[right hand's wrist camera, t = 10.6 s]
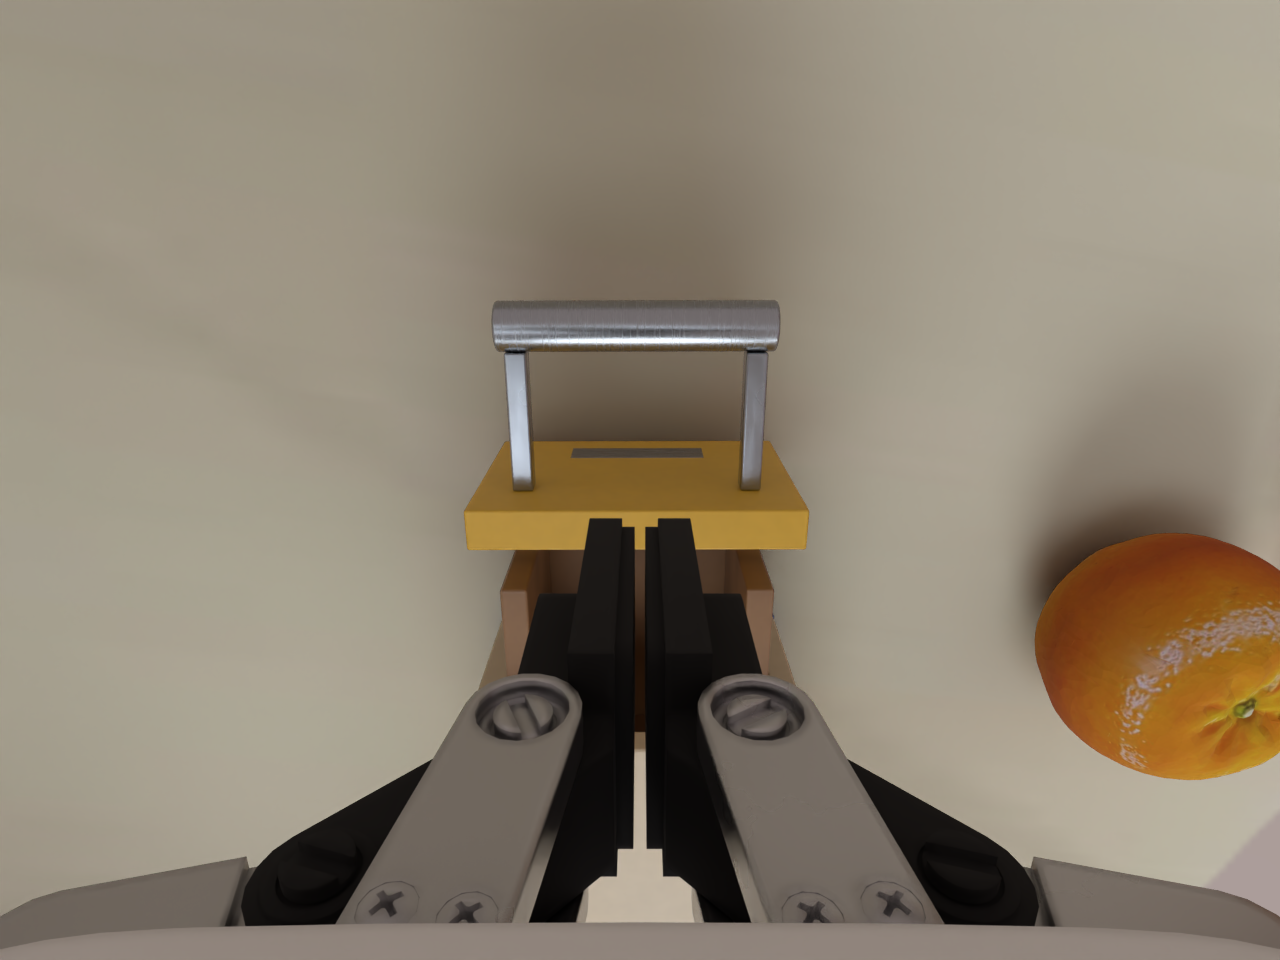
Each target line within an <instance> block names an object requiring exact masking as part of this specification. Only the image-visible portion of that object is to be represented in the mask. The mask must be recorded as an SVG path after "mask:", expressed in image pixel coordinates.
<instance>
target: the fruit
mask: <svg viewBox="0 0 1280 960" xmlns="http://www.w3.org/2000/svg"><path fill="white" fill-rule="evenodd" d="M1035 654H1036V658H1037V664H1038V667H1039V670H1040V673H1041V676H1042V679H1043V682H1044V684H1045V687H1046V690H1047V692H1048V695H1049V698H1050V700H1051V703H1052V705H1053V707H1054V709H1055V711H1056V712H1057V713H1058V715H1059V716H1060V718H1061V719H1062V720H1063V722H1064V723H1065V724H1066V725H1067V727H1068V728H1069V729H1070V730H1072V731H1073V732H1074V733H1075V734H1076V735H1077V736H1078V737H1079V738H1080V739H1081V740H1082V741H1084V742H1085V743H1086V744H1087V745H1089V746H1090V747H1091V748H1093V749H1094V750H1096V751H1097V752H1099V753H1100V754H1102V755H1104V756H1106V757H1108V758H1110V759H1112V760H1114V761H1116V762H1118V763H1119V764H1121V765H1123V766H1126V767H1128V768H1131V769H1134V770H1136V771H1139V772H1142V773H1145V774H1149V775H1154V776H1158V777H1162V778H1172V779H1182V780H1202V779H1208V778H1214V777H1220V776H1224V775H1228V774H1232V773H1236V772H1240V771H1243V770H1246V769H1249V768H1252V767H1255V766H1258V765H1261V764H1263V763H1264V762H1266V761H1268V760H1269V759H1271V758H1273V757H1274V756H1275V755H1277V754H1278V753H1279V752H1280V571H1279V570H1278V569H1277V568H1275V567H1274V566H1273V565H1271V564H1270V563H1268V562H1266V561H1265V560H1263V559H1261V558H1260V557H1258V556H1256V555H1254V554H1252V553H1250V552H1248V551H1246V550H1244V549H1242V548H1239V547H1237V546H1234V545H1232V544H1229V543H1226V542H1223V541H1220V540H1217V539H1214V538H1210V537H1206V536H1199V535H1193V534H1187V533H1185V534H1180V533H1160V534H1152V535H1147V536H1142V537H1138V538H1134V539H1131V540H1128V541H1125V542H1122V543H1117V544H1114V545H1111V546H1108V547H1105V548H1103V549H1101V550H1098V551H1096V552H1095V553H1094V554H1092V555H1090V556H1089V557H1088V558H1086V559H1085V560H1084V561H1082V562H1081V563H1080V564H1079V565H1078V566H1077V567H1076V568H1074V569H1073V570H1072V571H1071V572H1070V573H1068V574H1067V575H1066V576H1065V577H1064V579H1063V580H1062V581H1061V582H1060V583H1059V584H1058V585H1057V586H1056V588H1055V589H1054V590H1053V592H1052V593H1051V595H1050V596H1049V598H1048V600H1047V602H1046V604H1045V606H1044V608H1043V610H1042V612H1041V615H1040V618H1039V620H1038V623H1037V627H1036V633H1035Z"/></svg>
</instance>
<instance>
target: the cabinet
mask: <svg viewBox="0 0 1280 960" xmlns="http://www.w3.org/2000/svg"><path fill="white" fill-rule="evenodd" d="M768 676H772V677H777V678H779V679H782V680H784V681H787V682H789V683H792V684H793V685H795V682H794V679H793V676H792V673H791V670H790V667H789V664H788V661H787V658H786V655H785V652H784V649H783V646H782V643H781V640H780V637H779V633H778V630H777V627H776V624H775V621H774V615H773V614H772V629H771V643H770V657H769V672H768ZM503 677H507V675H506V662H505V649H504V637H503V624H502V621H501V624H500V627H499V630H498V633H497V636H496V639H495V642H494V645H493V648H492V651H491V654H490V657H489V660H488V663H487V666H486V668H485V671H484V674H483V677H482V680H481V683H480V686H479V689H481V688H482V687H484V686H485V685H487V684H488V683H491V682H493V681H496V680H498V679H501V678H503ZM795 686H796V685H795ZM479 689H478V690H479ZM588 893H589V900H588V913H587V918H586V922H585V923H605V922H675V923H695V922H694V918H693V913H692V900H691V893H692V887H691V886H690V885H689V884H688V883H686V882H685V881H684V880H683V879H681V878H680V877H663V863H662V849H647V846H646V750H645V732H635V750H634V846H633V849H618V863H617V877H600V878H599V879H597V880H596V881H595V882H594V883H592V884H591V885H590V886H589V887H588Z"/></svg>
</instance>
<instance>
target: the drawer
mask: <svg viewBox="0 0 1280 960" xmlns="http://www.w3.org/2000/svg"><path fill="white" fill-rule="evenodd" d="M492 336H493V342H494V345H495V348H496V350H497V351H499V352H506V353H505V354H504V365H505V380H506V395H507V410H508V424H509V439H510V441H506V442H505V443H504V445H503V446H502V448H501V450H500V451H499V453H498V455H497V456H496V458H495V460H494V461H493V463H492V465H491V467H490V468H489V470H488V472H487V473H486V475H485V477H484V478H483V480H482V482H481V484H480V485H479V487H478V489H477V490H476V492H475V494H474V495H473V497H472V499H471V500H470V502H469V504H468V506H467V507H466V509H465V511H464V519H465V529H466V540H467V548H468V550H515V552H514V555H513V558H512V561H511V563H510V566H509V569H508V571H507V574H506V577H505V579H504V582H503V585H502V588H501V590H500V598H501V611H502V624H503V637H504V649H505V662H506V675H507V677H508V676H513V675H518V671H519V667H520V663H521V660H522V656H523V652H524V648H525V644H526V641H527V637H528V633H529V629H530V626H531V622H532V618H533V614H534V610H535V607H536V603H537V599H538V596H539V594H541V593H577V591H578V585H579V579H580V573H581V567H582V561H583V555H584V549H585V543H586V537H587V531H588V524H589V519H590V518H622V527H635V732H645V527H658V518H690V519H691V524H692V531H693V537H694V543H695V549H696V555H697V561H698V567H699V573H700V579H701V585H702V591H703V593H739V594H741V596H742V599H743V603H744V607H745V610H746V614H747V618H748V622H749V626H750V629H751V633H752V637H753V641H754V644H755V648H756V652H757V656H758V660H759V663H760V667H761V671H762V675H767V676H768V672H769V657H770V643H771V629H772V614H773V600H774V589H773V586H772V583H771V580H770V578H769V575H768V572H767V569H766V566H765V564H764V561H763V558H762V555H761V552H760V549H805V548H806V543H807V532H808V520H809V510H808V508H807V506H806V504H805V503H804V501H803V499H802V497H801V496H800V494H799V492H798V490H797V489H796V487H795V485H794V483H793V482H792V480H791V478H790V476H789V475H788V473H787V471H786V469H785V468H784V466H783V464H782V462H781V460H780V459H779V457H778V455H777V453H776V452H775V450H774V448H773V446H772V445H771V443H770V441H763V438H764V421H765V404H766V387H767V370H768V353H767V352H766V351H775V350H776V348H777V346H778V342H779V336H780V309H779V304H778V302H777V301H776V300H590V301H496V302H495V303H494V305H493V309H492ZM667 351H744V365H743V387H742V408H741V429H740V441H533V425H532V407H531V389H530V371H529V353H528V352H667Z"/></svg>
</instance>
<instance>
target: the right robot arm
mask: <svg viewBox="0 0 1280 960" xmlns="http://www.w3.org/2000/svg"><path fill="white" fill-rule="evenodd" d="M634 750H635V527H622V518H590V519H589V524H588V531H587V537H586V543H585V549H584V555H583V561H582V567H581V573H580V579H579V585H578V591H577V593H541V594H539V596H538V599H537V603H536V607H535V610H534V614H533V618H532V622H531V626H530V629H529V633H528V637H527V641H526V644H525V648H524V652H523V656H522V660H521V663H520V667H519V671H518V675H513V676H508V677H503V678H501V679H498V680H496V681H493V682H491V683H488V684H487V685H485V686H484V687H482V688H481V689H479V690H478V691H476V692H475V693H474V694H473V695H472V697H471V698H470V699H469V700H468V701H467V703H466V704H465V706H464V707H463V709H462V711H461V712H460V714H459V716H458V717H457V719H456V721H455V723H454V724H453V726H452V728H451V729H450V731H449V733H448V734H447V736H446V738H445V739H444V741H443V743H442V745H441V746H440V748H439V750H438V751H437V753H436V755H435V756H434V758H433V759H432V760H430V761H428V762H426V763H425V764H423V765H421V766H419V767H417V768H416V769H414V770H412V771H410V772H409V773H407V774H405V775H403V776H401V777H400V778H398V779H396V780H394V781H392V782H391V783H389V784H387V785H385V786H383V787H382V788H380V789H378V790H376V791H374V792H373V793H371V794H369V795H367V796H365V797H364V798H362V799H360V800H358V801H356V802H355V803H353V804H351V805H349V806H348V807H346V808H344V809H342V810H340V811H339V812H337V813H335V814H333V815H331V816H330V817H328V818H326V819H324V820H322V821H321V822H319V823H317V824H315V825H313V826H312V827H310V828H308V829H306V830H304V831H303V832H301V833H299V834H297V835H296V836H294V837H292V838H291V839H289V840H288V841H286V842H285V843H283V844H282V845H281V846H279V847H278V848H276V849H275V850H273V851H272V852H271V853H270V854H269V855H268V856H267V857H266V858H265V859H264V860H263V861H262V863H261V864H260V865H259V866H258V867H254V868H249V866H248V862H247V858H246V857H242V858H236V859H231V860H225V861H220V862H215V863H209V864H204V865H198V866H193V867H187V868H182V869H177V870H171V871H166V872H160V873H155V874H149V875H144V876H138V877H133V878H128V879H122V880H117V881H111V882H106V883H100V884H95V885H89V886H84V887H79V888H73V889H68V890H62V891H58V892H55V893H52V894H49V895H45V896H42V897H39V898H35V899H32V900H30V901H29V902H27V903H25V904H23V905H21V906H19V907H17V908H15V909H13V910H11V911H9V912H8V913H6V914H4V915H2V916H1V917H0V960H1280V917H1279V916H1278V915H1276V914H1274V913H1272V912H1271V911H1269V910H1267V909H1265V908H1263V907H1261V906H1259V905H1257V904H1255V903H1253V902H1251V901H1250V900H1248V899H1244V898H1241V897H1238V896H1235V895H1231V894H1228V893H1225V892H1222V891H1218V890H1212V889H1207V888H1201V887H1196V886H1191V885H1185V884H1180V883H1174V882H1169V881H1163V880H1158V879H1152V878H1147V877H1142V876H1136V875H1131V874H1125V873H1120V872H1114V871H1109V870H1103V869H1098V868H1093V867H1087V866H1082V865H1076V864H1071V863H1065V862H1060V861H1055V860H1049V859H1044V858H1038V857H1034V858H1033V862H1032V866H1031V868H1026V867H1022V866H1021V865H1020V864H1019V863H1018V861H1017V860H1016V859H1015V858H1014V857H1013V856H1012V855H1011V854H1010V853H1009V852H1008V851H1007V850H1005V849H1004V848H1002V847H1001V846H999V845H998V844H997V843H995V842H994V841H992V840H991V839H989V838H988V837H986V836H984V835H983V834H981V833H979V832H977V831H976V830H974V829H972V828H970V827H968V826H967V825H965V824H963V823H961V822H959V821H958V820H956V819H954V818H952V817H950V816H949V815H947V814H945V813H943V812H941V811H940V810H938V809H936V808H934V807H932V806H931V805H929V804H927V803H925V802H924V801H922V800H920V799H918V798H916V797H915V796H913V795H911V794H909V793H907V792H906V791H904V790H902V789H900V788H898V787H897V786H895V785H893V784H891V783H889V782H888V781H886V780H884V779H882V778H880V777H879V776H877V775H875V774H873V773H871V772H870V771H868V770H866V769H864V768H863V767H861V766H859V765H857V764H855V763H854V762H852V761H850V760H848V759H847V758H846V756H845V755H844V753H843V751H842V750H841V748H840V746H839V745H838V743H837V741H836V739H835V738H834V736H833V734H832V733H831V731H830V729H829V728H828V726H827V724H826V723H825V721H824V719H823V717H822V716H821V714H820V712H819V711H818V709H817V707H816V706H815V704H814V703H813V701H812V700H811V699H810V698H809V697H808V695H807V694H806V693H805V692H804V691H802V690H801V689H799V688H798V687H796V686H795V685H793V684H792V683H789V682H787V681H784V680H782V679H779V678H777V677H772V676H767V675H762V671H761V667H760V663H759V660H758V656H757V652H756V648H755V644H754V641H753V637H752V633H751V629H750V626H749V622H748V618H747V614H746V610H745V607H744V603H743V599H742V596H741V594H739V593H703V591H702V585H701V579H700V573H699V567H698V561H697V555H696V549H695V543H694V537H693V531H692V524H691V519H690V518H658V527H645V750H646V846H647V849H662V863H663V877H680V878H681V879H683V880H684V881H685V882H686V883H688V884H689V885H690V886H691V887H692V893H691V900H692V913H693V918H694V922H695V923H675V922H605V923H585V922H586V918H587V913H588V900H589V893H588V887H589V886H590V885H591V884H592V883H594V882H595V881H596V880H597V879H599V878H600V877H617V863H618V849H633V846H634Z"/></svg>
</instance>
